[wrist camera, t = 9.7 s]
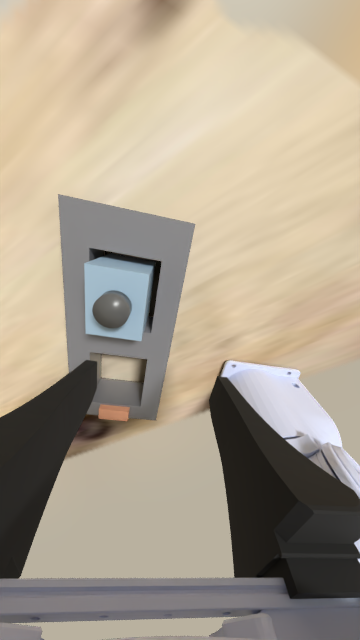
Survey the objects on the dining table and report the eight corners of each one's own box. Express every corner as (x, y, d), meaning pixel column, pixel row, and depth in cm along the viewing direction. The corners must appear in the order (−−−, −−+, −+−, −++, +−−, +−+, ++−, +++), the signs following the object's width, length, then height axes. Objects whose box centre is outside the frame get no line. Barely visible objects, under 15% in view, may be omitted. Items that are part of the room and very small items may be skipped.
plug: (155, 261, 18) (147, 278, 11) (149, 310, 20) (138, 350, 13) (111, 252, 17) (75, 266, 11) (109, 304, 19) (78, 342, 13)
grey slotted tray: (190, 224, 17) (196, 223, 13) (157, 396, 25) (155, 425, 21) (81, 201, 16) (52, 192, 12) (84, 388, 24) (68, 417, 20)
